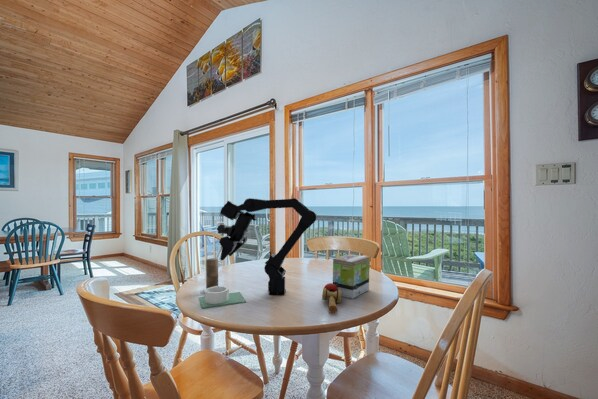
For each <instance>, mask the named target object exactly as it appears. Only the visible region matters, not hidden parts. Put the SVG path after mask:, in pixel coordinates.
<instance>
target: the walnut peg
mask: <svg viewBox="0 0 598 399" xmlns="http://www.w3.org/2000/svg"><path fill="white" fill-rule="evenodd" d="M205 260H206V261H205V281H206V282H205V290H206V289H207V288H210V287H215V286H219V258H213V257H212V258H211V257H210V258H207V259H205Z"/></svg>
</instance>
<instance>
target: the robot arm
mask: <svg viewBox="0 0 598 399" xmlns="http://www.w3.org/2000/svg"><path fill="white" fill-rule="evenodd" d="M287 208H291V209H293V210H294V211H295V212H296V213H297V214H298V215H299V216H300V217H301V218H300V219H299V221H298V223H297V225H296V227H295V229H294V230H293V232H292V233H291V234H290V236H289V237H288V238H287V240H286V241H285V242H284V244H283V245H282V246H281V248H280V249H279V251H278V252H277V253H271V255H270V256H269V257H268V260H266V261H265V262H264V272H265V273H266V275H267V276H268V278H269V280H268V281H267V282H268V283H267V284H268V286H267V289H268V290H267V291H268V295H271V296H273V295H277V296H278V295H280V296H283V295H285V294H286V291H287V289H286V276H285V275H286V272H287V271H286V269H285V268H284V267H283V264H284V261H285V259H286V257H287V256H288V254H289V253H290V252H291V250H293V248H294V246H295V245H296V244H297V242H298V241H299V239H300V238H301V237H302V235H303V234H304V233H305V231H307V230H308V229H309V228H310V227H311V226H312V225H313V224H314V223H315V222H316V221H317V219H318V214H317V212H316V211H315V210H313V209H309V208H308V207H307V206H306V205H305V204H304V203H302V202H301V201H300V199H298V198H295V197H293V198H286V199H285V198H284V199H283V198H282V199H260V198H246V199H244V202H243V203H242V204H239V205H238V204H235V203H233V201H230V200H227V201H226V203H225V204H224V205H223V206H222V207H221V210H220V215H221V216H223V217H225V218H227V219H229V220H230V221H234V220H236V221H235V223H234V224H231V225H226V224H222V223H221V224H220V225H218V226H217V228H216V230H217V234H220V235H221V234H223V235H225V236H223V237H220V239H219V241H218V243H219V245H220V246H221V254H220V258H219V259H220V260H221V261H224V260H225V259H226V258H227V257H228V256H229V257H231V256H232V255H234V254H235V253H236V252H237V251H238V250H240V248H242V247H243V246H244V245H245V244H246V243H247V241H248V237H247V235H246V233H248V231H249V230H248V229H249V226H250V224H251V223H252V220H253V221H258V217H257V214H256V213H254V212H259V211H263V210H267V209H270V210H271V209H287ZM244 211H245V212H244ZM252 213H254V214H252Z"/></svg>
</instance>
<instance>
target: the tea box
mask: <svg viewBox="0 0 598 399" xmlns="http://www.w3.org/2000/svg"><path fill="white" fill-rule="evenodd" d="M332 284H335V285H336V286H337V288H338V290H341V298H342V297H343V298H347V299H352V300H353V299H355V298H357V297H358V296H360V295H362V294H363V293H366V292H368V291H369V290H370V256H367V255H358V254H351V253H349V254H345V255H342V256H338V257H334V258H333V259H332ZM367 290H368V291H367Z"/></svg>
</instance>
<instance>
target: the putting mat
mask: <svg viewBox="0 0 598 399" xmlns="http://www.w3.org/2000/svg"><path fill="white" fill-rule="evenodd" d="M229 290H230V289H229V287H228V286H225V285H218V286H215V287H210V288H207V289H206V288H205V290H204V296H198V297H199V298H198V299H199V302H200V307H201V309H208V308H214V307H215V308H217V307H223V306H224V307H225V306H229V305H237V304H243V303H247V300H246V299H245V297H244V296H243V295H242V293H241V292H240V291H235V292H230V291H229Z"/></svg>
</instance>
